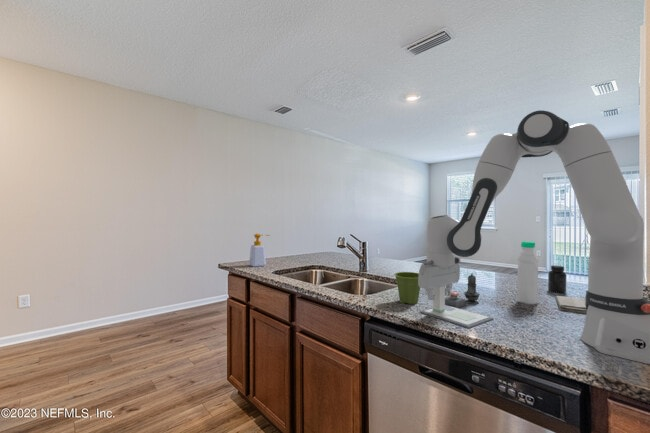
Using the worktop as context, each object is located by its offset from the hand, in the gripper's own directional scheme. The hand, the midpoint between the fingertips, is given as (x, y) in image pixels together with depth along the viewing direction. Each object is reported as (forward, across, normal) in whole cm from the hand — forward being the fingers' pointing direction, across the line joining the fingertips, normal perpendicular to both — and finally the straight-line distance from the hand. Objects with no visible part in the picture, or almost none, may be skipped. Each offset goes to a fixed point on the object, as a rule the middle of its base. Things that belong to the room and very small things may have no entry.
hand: (439, 297), depth 112 cm
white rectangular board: (+6, +2, -5) cm, 8 cm away
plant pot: (+6, +2, +16) cm, 17 cm away
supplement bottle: (+6, +74, -12) cm, 75 cm away
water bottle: (+6, +42, -12) cm, 45 cm away
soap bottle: (+6, -13, +133) cm, 134 cm away
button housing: (+6, +14, +3) cm, 15 cm away
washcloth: (+7, +51, -25) cm, 58 cm away
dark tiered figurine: (+6, +24, +1) cm, 24 cm away
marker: (+5, 0, 0) cm, 5 cm away
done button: (+5, +14, +3) cm, 15 cm away
